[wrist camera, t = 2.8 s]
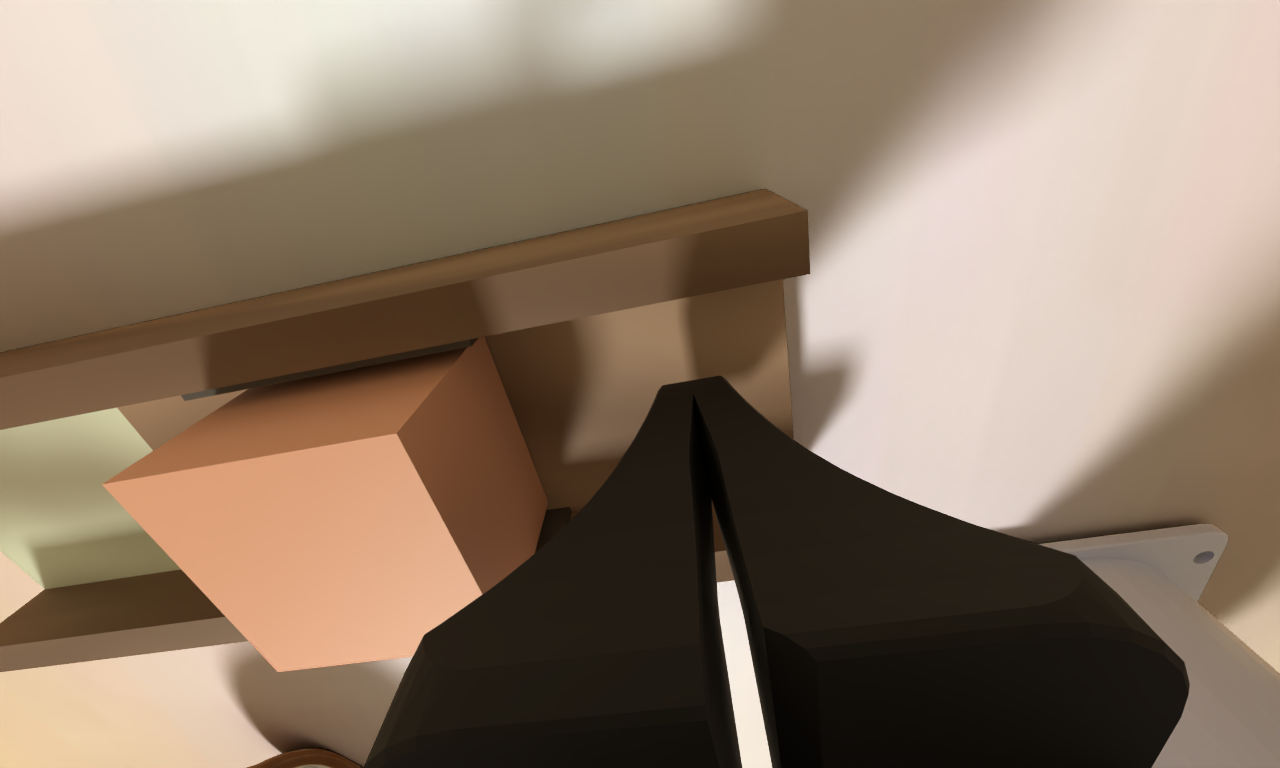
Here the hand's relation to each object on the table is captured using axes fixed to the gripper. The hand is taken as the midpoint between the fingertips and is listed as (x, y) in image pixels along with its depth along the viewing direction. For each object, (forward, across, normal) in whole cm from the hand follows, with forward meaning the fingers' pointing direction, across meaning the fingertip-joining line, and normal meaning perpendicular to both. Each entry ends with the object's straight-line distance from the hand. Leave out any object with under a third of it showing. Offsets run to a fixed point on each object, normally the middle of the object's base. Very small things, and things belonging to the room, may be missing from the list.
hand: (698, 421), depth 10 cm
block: (+1, +7, 0) cm, 7 cm away
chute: (+2, +9, 0) cm, 10 cm away
